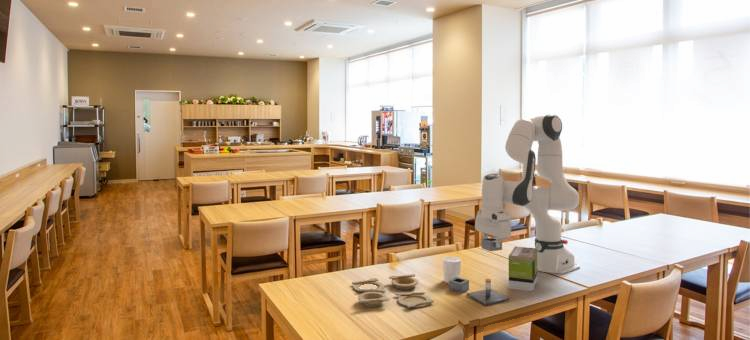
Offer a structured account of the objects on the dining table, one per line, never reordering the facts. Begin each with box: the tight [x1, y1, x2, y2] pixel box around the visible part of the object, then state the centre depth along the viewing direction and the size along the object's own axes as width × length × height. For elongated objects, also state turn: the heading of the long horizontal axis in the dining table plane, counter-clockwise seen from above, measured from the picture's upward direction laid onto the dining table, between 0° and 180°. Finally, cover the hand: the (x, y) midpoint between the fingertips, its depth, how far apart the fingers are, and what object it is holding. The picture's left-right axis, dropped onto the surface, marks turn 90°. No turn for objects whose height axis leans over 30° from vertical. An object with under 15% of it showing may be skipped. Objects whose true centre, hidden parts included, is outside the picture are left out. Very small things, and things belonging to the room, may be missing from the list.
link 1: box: [448, 277, 470, 294], centre depth 204 cm, size 6×6×4 cm
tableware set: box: [351, 273, 435, 309], centre depth 199 cm, size 35×29×4 cm
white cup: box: [442, 256, 462, 284], centre depth 214 cm, size 8×8×10 cm
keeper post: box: [466, 278, 511, 307], centre depth 194 cm, size 12×12×8 cm
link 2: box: [481, 237, 503, 252], centre depth 206 cm, size 6×6×4 cm
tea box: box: [508, 246, 538, 292], centre depth 208 cm, size 15×10×15 cm
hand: (491, 245), depth 206 cm, fingers closed on link 2, 6 cm apart
